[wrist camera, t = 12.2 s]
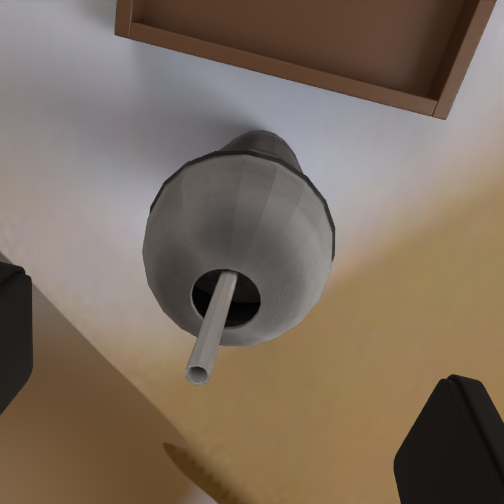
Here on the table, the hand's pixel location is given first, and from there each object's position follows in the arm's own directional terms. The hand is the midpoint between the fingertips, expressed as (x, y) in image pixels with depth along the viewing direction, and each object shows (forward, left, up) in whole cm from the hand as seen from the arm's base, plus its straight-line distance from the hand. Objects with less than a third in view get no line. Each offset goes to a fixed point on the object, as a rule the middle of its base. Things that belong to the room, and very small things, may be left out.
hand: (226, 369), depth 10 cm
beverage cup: (+1, 0, -19) cm, 19 cm away
